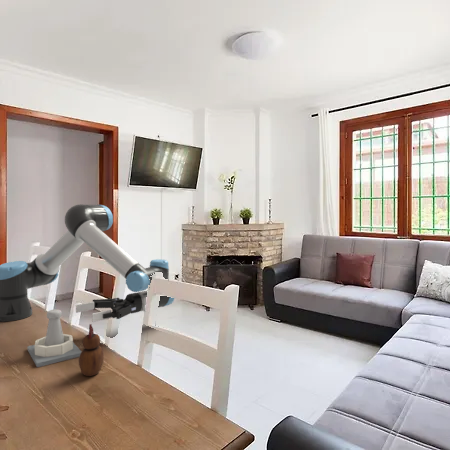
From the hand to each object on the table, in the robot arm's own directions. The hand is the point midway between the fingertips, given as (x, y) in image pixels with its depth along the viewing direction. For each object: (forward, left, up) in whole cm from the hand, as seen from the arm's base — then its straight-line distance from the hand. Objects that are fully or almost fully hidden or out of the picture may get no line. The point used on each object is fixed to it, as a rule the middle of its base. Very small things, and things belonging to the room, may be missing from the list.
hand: (83, 313), depth 118 cm
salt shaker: (+9, -4, -10) cm, 14 cm away
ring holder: (+9, -4, -10) cm, 14 cm away
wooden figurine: (+16, +17, -11) cm, 26 cm away
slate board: (+9, -4, -11) cm, 15 cm away
